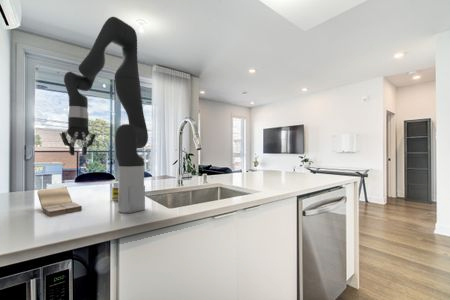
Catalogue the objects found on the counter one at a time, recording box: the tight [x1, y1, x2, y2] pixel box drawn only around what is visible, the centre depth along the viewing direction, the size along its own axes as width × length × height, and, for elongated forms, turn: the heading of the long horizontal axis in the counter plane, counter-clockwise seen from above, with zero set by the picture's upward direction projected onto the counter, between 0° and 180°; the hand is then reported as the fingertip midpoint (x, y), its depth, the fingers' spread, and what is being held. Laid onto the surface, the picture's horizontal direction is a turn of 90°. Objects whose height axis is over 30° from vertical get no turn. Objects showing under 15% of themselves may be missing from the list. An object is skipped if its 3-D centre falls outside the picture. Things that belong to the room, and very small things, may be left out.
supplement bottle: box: [111, 181, 118, 202], centre depth 99 cm, size 5×5×8 cm
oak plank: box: [37, 186, 73, 211], centre depth 86 cm, size 10×10×2 cm
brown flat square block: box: [42, 201, 83, 217], centre depth 80 cm, size 10×10×2 cm
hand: (78, 155), depth 95 cm, fingers open, 3 cm apart
